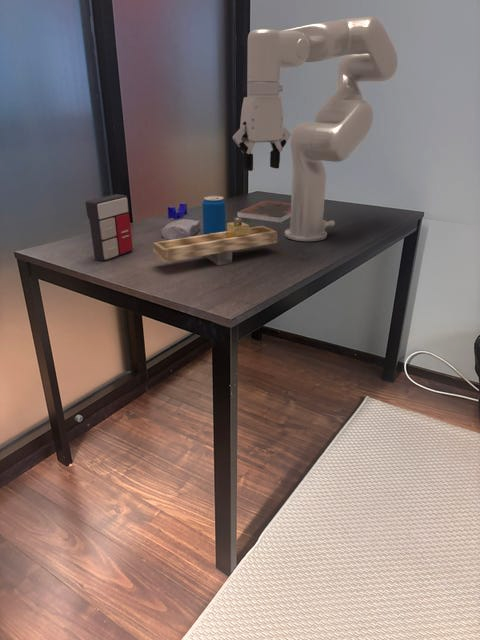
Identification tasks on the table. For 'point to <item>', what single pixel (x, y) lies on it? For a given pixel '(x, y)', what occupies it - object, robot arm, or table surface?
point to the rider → (237, 228)
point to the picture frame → (267, 211)
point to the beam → (212, 245)
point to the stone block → (181, 229)
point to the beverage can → (213, 215)
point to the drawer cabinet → (109, 226)
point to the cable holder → (177, 214)
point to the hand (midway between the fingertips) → (261, 168)
